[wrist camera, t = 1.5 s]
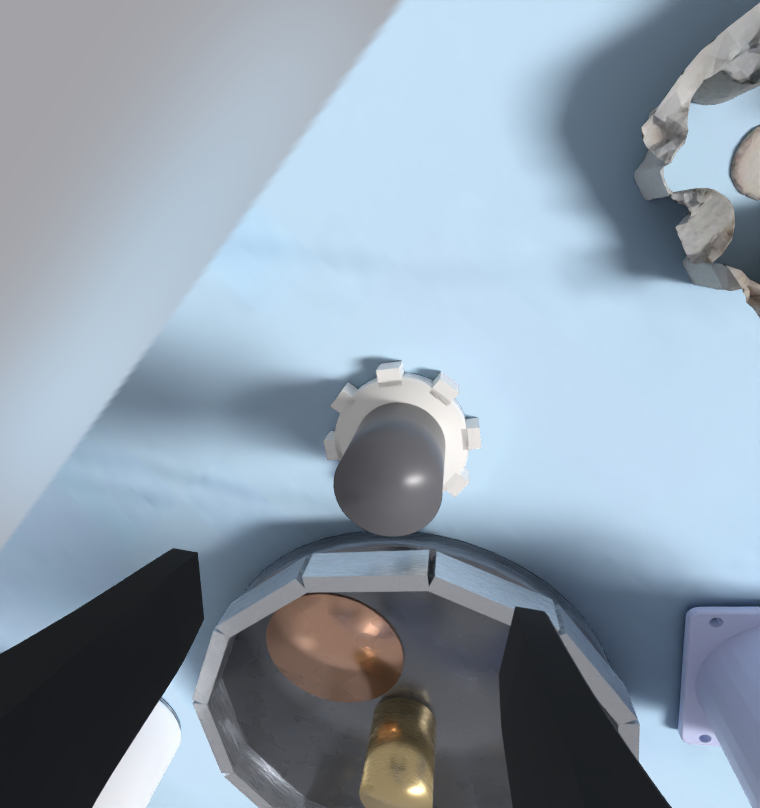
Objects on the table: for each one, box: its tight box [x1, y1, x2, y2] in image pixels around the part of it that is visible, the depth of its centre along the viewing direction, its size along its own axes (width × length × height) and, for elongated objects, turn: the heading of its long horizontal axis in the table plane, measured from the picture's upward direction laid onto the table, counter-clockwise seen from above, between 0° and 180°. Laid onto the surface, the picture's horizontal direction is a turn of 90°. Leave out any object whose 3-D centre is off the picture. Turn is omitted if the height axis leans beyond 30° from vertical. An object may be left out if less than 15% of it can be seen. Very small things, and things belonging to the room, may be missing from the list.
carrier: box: [193, 531, 640, 808], centre depth 22 cm, size 21×21×5 cm
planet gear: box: [323, 361, 481, 537], centre depth 17 cm, size 6×6×4 cm
